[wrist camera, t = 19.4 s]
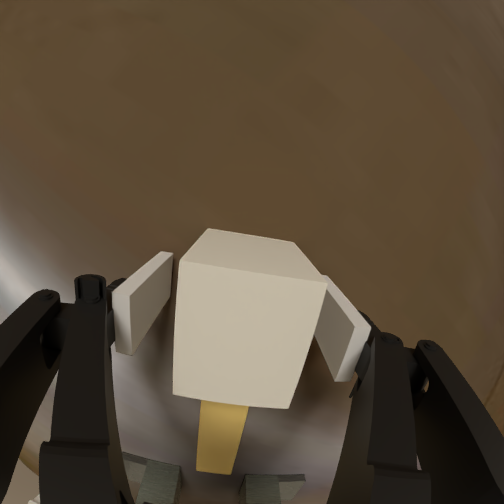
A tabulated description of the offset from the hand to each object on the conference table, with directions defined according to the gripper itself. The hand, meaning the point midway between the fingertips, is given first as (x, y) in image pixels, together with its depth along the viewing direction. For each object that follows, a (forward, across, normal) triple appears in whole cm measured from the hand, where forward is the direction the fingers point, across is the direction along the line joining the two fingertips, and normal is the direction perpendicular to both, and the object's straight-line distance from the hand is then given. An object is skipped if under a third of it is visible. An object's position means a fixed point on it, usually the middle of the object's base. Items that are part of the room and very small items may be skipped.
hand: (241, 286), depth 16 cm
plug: (+1, 0, -7) cm, 7 cm away
